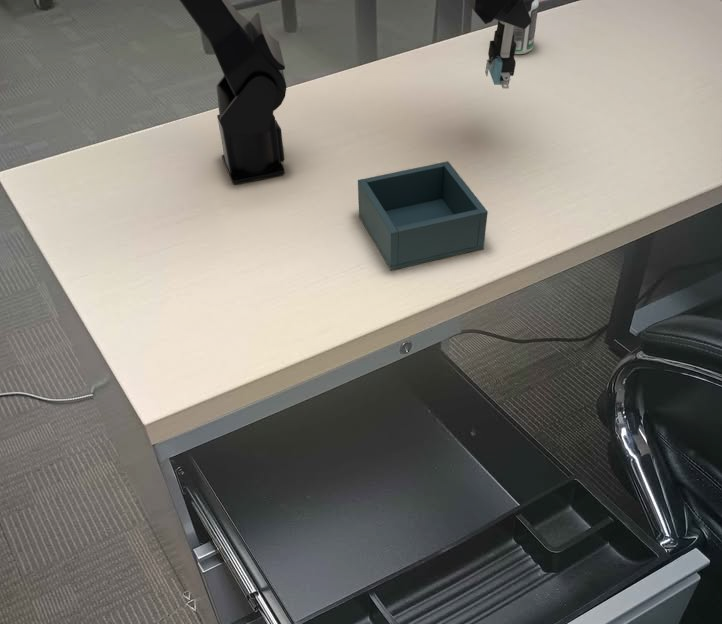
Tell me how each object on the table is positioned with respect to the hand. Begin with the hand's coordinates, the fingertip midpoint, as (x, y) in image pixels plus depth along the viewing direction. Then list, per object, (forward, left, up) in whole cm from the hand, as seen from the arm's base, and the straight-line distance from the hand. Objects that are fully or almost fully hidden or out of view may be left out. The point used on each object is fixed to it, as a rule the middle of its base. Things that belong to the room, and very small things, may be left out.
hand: (519, 15), depth 86 cm
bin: (-18, -16, -14) cm, 27 cm away
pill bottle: (+12, +22, -14) cm, 29 cm away
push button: (-2, 0, -7) cm, 7 cm away
